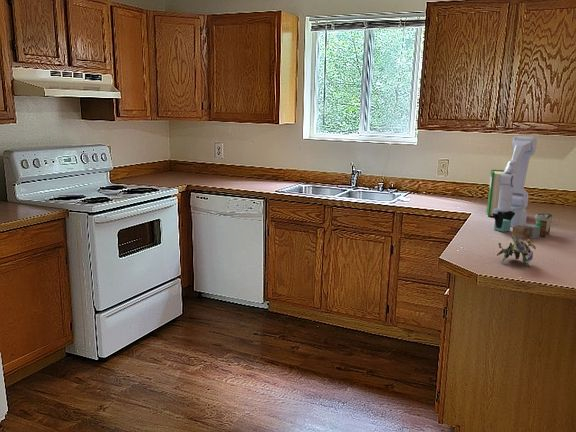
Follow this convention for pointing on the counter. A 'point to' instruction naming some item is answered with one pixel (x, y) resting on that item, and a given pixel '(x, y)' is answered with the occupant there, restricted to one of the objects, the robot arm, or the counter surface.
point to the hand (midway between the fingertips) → (502, 227)
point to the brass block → (521, 232)
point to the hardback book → (493, 191)
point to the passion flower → (519, 250)
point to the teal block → (504, 226)
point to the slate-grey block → (534, 231)
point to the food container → (543, 223)
